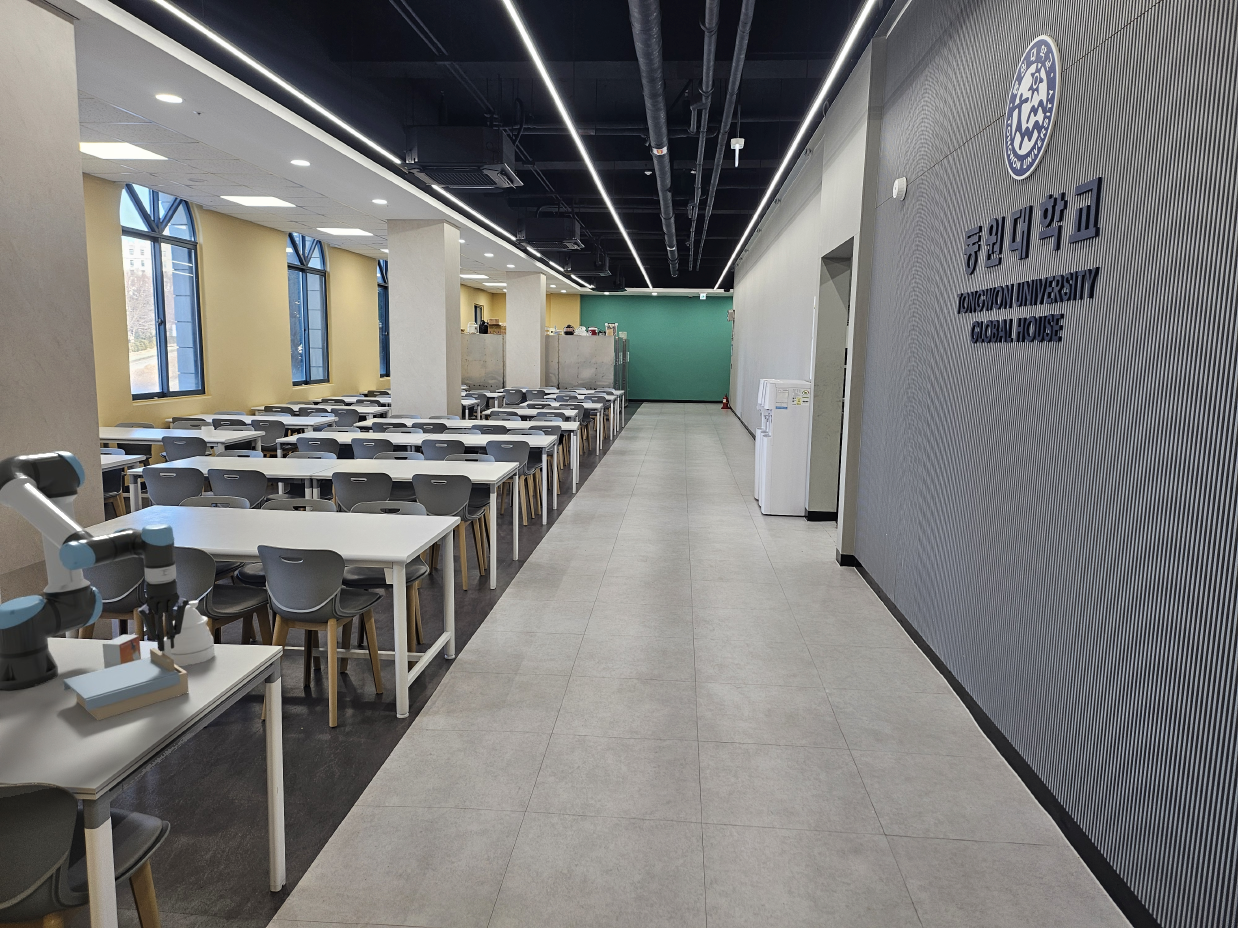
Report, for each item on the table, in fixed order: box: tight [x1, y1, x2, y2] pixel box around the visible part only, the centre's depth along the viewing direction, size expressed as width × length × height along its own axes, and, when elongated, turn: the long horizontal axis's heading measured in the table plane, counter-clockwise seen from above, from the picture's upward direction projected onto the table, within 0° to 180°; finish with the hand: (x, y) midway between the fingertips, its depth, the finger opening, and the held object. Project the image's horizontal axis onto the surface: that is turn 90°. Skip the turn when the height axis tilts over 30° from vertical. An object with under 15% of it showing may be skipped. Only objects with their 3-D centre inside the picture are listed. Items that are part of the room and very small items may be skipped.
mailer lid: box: [62, 647, 180, 712], centre depth 211 cm, size 19×22×6 cm
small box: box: [102, 634, 142, 669], centre depth 229 cm, size 8×6×10 cm
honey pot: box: [171, 600, 215, 666], centre depth 241 cm, size 13×13×18 cm
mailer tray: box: [75, 664, 190, 721], centre depth 213 cm, size 17×22×6 cm
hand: (167, 660), depth 220 cm, fingers closed
